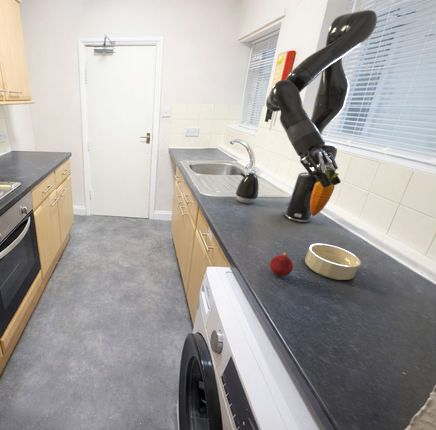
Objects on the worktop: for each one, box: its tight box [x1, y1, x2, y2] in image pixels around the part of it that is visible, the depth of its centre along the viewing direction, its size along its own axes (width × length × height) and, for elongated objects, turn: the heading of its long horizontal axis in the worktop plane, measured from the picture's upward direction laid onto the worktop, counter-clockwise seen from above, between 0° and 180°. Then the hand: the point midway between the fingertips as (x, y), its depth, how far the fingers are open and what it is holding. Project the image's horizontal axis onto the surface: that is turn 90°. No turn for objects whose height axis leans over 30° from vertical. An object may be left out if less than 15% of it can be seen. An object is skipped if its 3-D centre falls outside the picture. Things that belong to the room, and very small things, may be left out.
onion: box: [269, 252, 294, 277], centre depth 79 cm, size 6×6×8 cm
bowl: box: [304, 243, 362, 281], centre depth 83 cm, size 13×13×6 cm
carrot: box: [310, 170, 339, 217], centre depth 82 cm, size 5×5×15 cm
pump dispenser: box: [235, 172, 260, 204], centre depth 133 cm, size 10×10×15 cm
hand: (332, 184), depth 79 cm, fingers closed on carrot, 4 cm apart
